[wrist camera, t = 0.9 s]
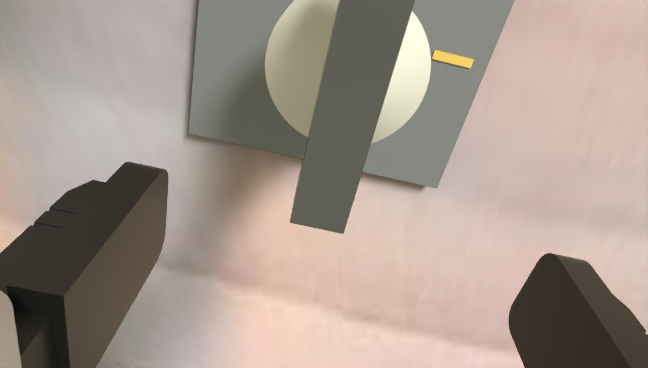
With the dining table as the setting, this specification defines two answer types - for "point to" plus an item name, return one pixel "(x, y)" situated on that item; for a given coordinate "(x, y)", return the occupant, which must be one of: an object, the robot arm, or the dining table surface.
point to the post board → (280, 137)
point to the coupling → (344, 92)
